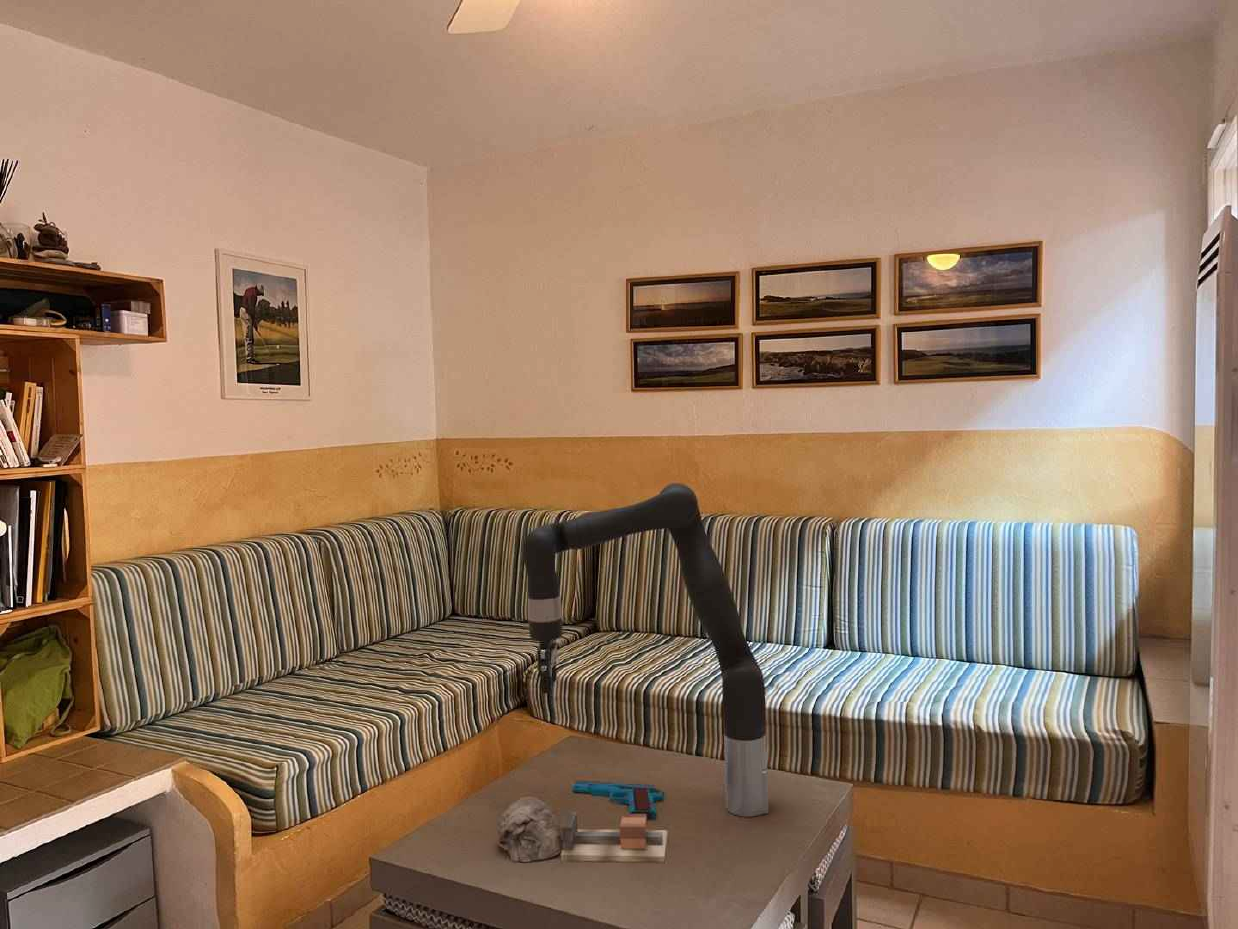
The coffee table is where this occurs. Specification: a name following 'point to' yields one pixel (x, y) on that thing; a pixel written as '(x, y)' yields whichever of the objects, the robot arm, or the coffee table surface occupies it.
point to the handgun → (625, 794)
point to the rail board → (608, 844)
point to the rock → (529, 831)
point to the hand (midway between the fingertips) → (549, 687)
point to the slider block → (633, 831)
